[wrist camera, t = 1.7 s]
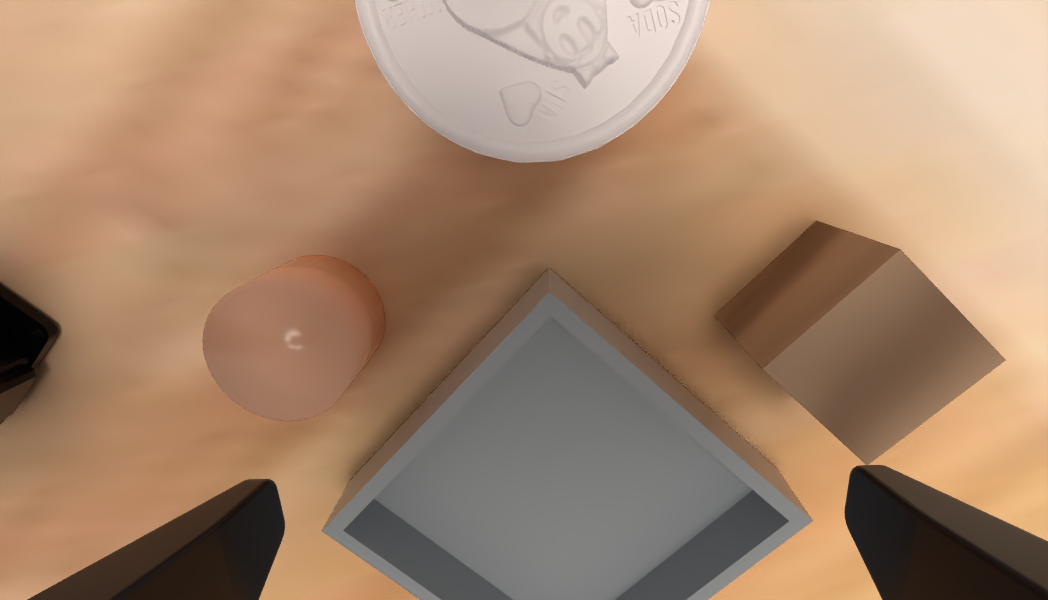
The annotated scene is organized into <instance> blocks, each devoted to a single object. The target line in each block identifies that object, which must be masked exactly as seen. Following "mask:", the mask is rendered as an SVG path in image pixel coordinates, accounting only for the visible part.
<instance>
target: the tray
mask: <svg viewBox="0 0 1048 600" xmlns="http://www.w3.org/2000/svg"><path fill="white" fill-rule="evenodd" d="M812 521H813V520H812V519H811V517H810V516H809V514H808V513H807V511H806V510H805V508H804V507H803V505H802V504H801V502H800V501H799V500H798V498H797V497H796V495H795V494H794V492H793V491H792V489H791V488H790V486H789V485H788V483H787V482H786V480H785V479H784V477H783V476H782V474H781V473H780V471H779V470H778V469H777V468H776V467H775V466H774V465H773V464H772V463H771V462H769V461H768V460H767V459H766V458H765V457H764V456H763V455H762V454H760V453H759V452H758V451H757V450H756V449H755V448H754V447H752V446H751V445H750V444H749V443H748V442H747V441H746V440H745V439H743V438H742V437H741V436H740V435H739V434H738V433H737V432H735V431H734V430H733V429H732V428H731V427H730V426H729V425H727V424H726V423H725V422H724V421H723V420H722V419H721V418H720V417H718V416H717V415H716V414H715V413H714V412H713V411H712V410H710V409H709V408H708V407H707V406H706V405H705V404H704V403H702V402H701V401H700V400H699V399H698V398H697V397H696V396H695V395H693V394H692V393H691V392H690V391H689V390H688V389H687V388H685V387H684V386H683V385H682V384H681V383H680V382H679V381H678V380H676V379H675V378H674V377H673V376H672V375H671V374H670V373H668V372H667V371H666V370H665V369H664V368H663V367H662V366H660V365H659V364H658V363H657V362H656V361H655V360H654V359H653V358H651V357H650V356H649V355H648V354H647V353H646V352H645V351H643V350H642V349H641V348H640V347H639V346H638V345H637V344H635V343H634V342H633V341H632V340H631V339H630V338H629V337H628V336H626V335H625V334H624V333H623V332H622V331H621V330H620V329H618V328H617V327H616V326H615V325H614V324H613V323H612V322H611V321H609V320H608V319H607V318H606V317H605V316H604V315H603V314H601V313H600V312H599V311H598V310H597V309H596V308H595V307H593V306H592V305H591V304H590V303H589V302H588V301H587V300H586V299H584V298H583V297H582V296H581V295H580V294H579V293H578V292H576V291H575V290H574V289H573V288H572V287H571V286H570V285H568V284H567V283H566V282H565V281H564V280H563V279H562V278H561V277H559V276H558V275H557V274H556V273H555V272H554V271H553V270H551V269H550V268H548V269H547V271H546V272H545V273H544V274H543V275H542V276H541V277H540V278H539V279H538V280H537V281H536V282H535V283H534V284H533V286H532V287H531V288H530V289H529V290H528V291H527V292H526V293H525V294H524V295H523V296H522V297H521V298H520V299H519V300H518V302H517V303H516V304H515V305H514V306H513V307H512V308H511V309H510V310H509V311H508V312H507V313H506V314H505V315H504V316H503V318H502V319H501V320H500V321H499V322H498V323H497V324H496V325H495V326H494V327H493V328H492V329H491V330H490V331H489V332H488V334H487V335H486V336H485V337H484V338H483V339H482V340H481V341H480V342H479V343H478V344H477V345H476V346H475V347H474V348H473V350H472V351H471V352H470V353H469V354H468V355H467V356H466V357H465V358H464V359H463V360H462V361H461V362H460V363H459V364H458V366H457V367H456V368H455V369H454V370H453V371H452V372H451V373H450V374H449V375H448V376H447V377H446V378H445V379H444V380H443V382H442V383H441V384H440V385H439V386H438V387H437V388H436V389H435V390H434V391H433V392H432V393H431V394H430V395H429V396H428V398H427V399H426V400H425V401H424V402H423V403H422V404H421V405H420V406H419V407H418V408H417V409H416V410H415V411H414V412H413V414H412V415H411V416H410V417H409V418H408V419H407V420H406V421H405V422H404V423H403V424H402V425H401V426H400V427H399V428H398V430H397V431H396V432H395V433H394V434H393V435H392V436H391V437H390V438H389V439H388V440H387V441H386V442H385V443H384V445H383V446H382V447H381V448H380V449H379V450H378V451H377V452H376V453H375V454H374V455H373V456H372V457H371V458H370V459H369V461H368V462H367V463H366V464H365V465H364V466H363V467H362V468H361V469H360V470H359V471H358V472H357V473H356V474H355V475H354V477H353V478H352V479H351V480H350V481H349V483H348V485H347V487H346V489H345V490H344V492H343V494H342V496H341V497H340V499H339V501H338V503H337V505H336V506H335V508H334V510H333V512H332V514H331V515H330V517H329V519H328V521H327V523H326V524H325V526H324V528H323V530H322V531H323V532H324V533H325V534H327V535H328V536H330V537H331V538H333V539H334V540H335V541H337V542H338V543H340V544H341V545H343V546H344V547H346V548H347V549H348V550H350V551H351V552H353V553H354V554H356V555H357V556H358V557H360V558H361V559H363V560H364V561H366V562H367V563H368V564H370V565H371V566H373V567H374V568H376V569H377V570H379V571H380V572H381V573H383V574H384V575H386V576H387V577H389V578H390V579H391V580H393V581H394V582H396V583H397V584H399V585H400V586H402V587H403V588H404V589H406V590H407V591H409V592H410V593H412V594H413V595H414V596H416V597H417V598H419V599H420V600H708V599H709V598H711V597H712V596H713V595H715V594H716V593H717V592H719V591H720V590H721V589H723V588H724V587H725V586H727V585H728V584H729V583H731V582H732V581H733V580H735V579H736V578H737V577H739V576H740V575H741V574H743V573H744V572H745V571H747V570H748V569H749V568H751V567H752V566H753V565H755V564H756V563H757V562H759V561H760V560H761V559H763V558H764V557H765V556H767V555H768V554H769V553H771V552H772V551H773V550H775V549H776V548H777V547H779V546H780V545H781V544H783V543H784V542H785V541H787V540H788V539H789V538H791V537H792V536H793V535H795V534H796V533H797V532H799V531H800V530H801V529H803V528H804V527H805V526H807V525H808V524H809V523H811V522H812Z"/></svg>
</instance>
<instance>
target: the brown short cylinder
mask: <svg viewBox="0 0 1048 600" xmlns="http://www.w3.org/2000/svg"><path fill="white" fill-rule="evenodd" d="M384 329H385V313H384V308H383V304H382V301H381V299H380V296H379V294H378V292H377V290H376V289H375V287H374V286H373V284H372V283H371V282H370V281H369V280H368V278H367V277H366V276H365V275H364V274H362V273H361V272H360V271H359V270H358V269H356V268H355V267H353V266H352V265H350V264H348V263H346V262H344V261H342V260H339V259H336V258H333V257H329V256H322V255H310V256H303V257H300V258H296V259H294V260H291V261H289V262H287V263H285V264H283V265H281V266H280V267H278V268H276V269H274V270H272V271H270V272H268V273H266V274H264V275H262V276H260V277H258V278H256V279H255V280H253V281H251V282H249V283H247V284H245V285H243V286H241V287H239V288H237V289H235V290H233V291H232V292H230V293H228V294H227V295H225V296H224V297H223V298H222V299H221V300H219V302H218V303H217V304H216V305H215V306H214V307H213V309H212V311H211V312H210V314H209V316H208V318H207V321H206V323H205V327H204V332H203V350H204V356H205V360H206V363H207V366H208V368H209V370H210V372H211V374H212V376H213V378H214V379H215V381H216V382H217V384H218V385H219V386H220V388H221V389H222V390H223V391H224V392H225V393H226V394H227V395H228V396H229V397H230V398H231V399H232V400H233V401H235V402H236V403H237V404H238V405H240V406H242V407H243V408H245V409H246V410H248V411H250V412H252V413H254V414H257V415H259V416H262V417H265V418H269V419H273V420H280V421H296V420H303V419H308V418H311V417H314V416H316V415H319V414H320V413H322V412H324V411H326V410H327V409H328V408H330V407H331V406H332V405H333V404H334V403H335V402H336V401H337V400H338V399H339V398H340V396H341V395H342V394H343V393H344V391H345V390H346V389H347V387H348V386H349V385H350V383H351V382H352V381H353V380H354V378H355V377H356V376H357V374H358V373H359V372H360V370H361V369H362V368H363V367H364V365H365V364H366V363H367V361H368V360H369V359H370V357H371V356H372V355H373V353H374V352H375V351H376V349H377V348H378V346H379V344H380V342H381V340H382V337H383V334H384Z"/></svg>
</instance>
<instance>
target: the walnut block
mask: <svg viewBox="0 0 1048 600" xmlns="http://www.w3.org/2000/svg"><path fill="white" fill-rule="evenodd" d="M714 316H715V317H716V318H717V319H718V320H719V321H720V322H721V323H722V325H723V326H724V327H725V328H726V329H727V330H728V331H729V332H730V333H731V335H732V336H733V337H734V338H735V339H736V340H737V341H738V342H739V343H740V345H741V346H742V347H743V348H744V349H745V350H746V351H747V352H748V354H749V355H750V356H751V357H752V358H753V359H754V360H755V361H756V362H757V364H758V365H759V366H760V367H761V368H762V369H763V370H764V371H765V372H766V373H767V374H768V375H769V376H770V377H772V378H773V379H774V380H775V381H776V382H777V383H778V384H779V385H780V386H781V387H782V388H783V389H785V390H786V391H787V392H788V393H789V394H790V395H791V396H792V397H793V398H794V399H795V400H797V401H798V402H799V403H800V404H801V405H802V406H803V407H804V408H805V409H806V410H807V411H808V412H810V413H811V414H812V415H813V416H814V417H815V418H816V419H817V420H818V421H819V422H820V423H821V424H823V425H824V426H825V427H826V428H827V429H828V430H829V431H830V432H831V433H832V434H833V435H834V436H836V437H837V438H838V439H839V440H840V441H841V442H842V443H843V444H844V445H845V446H846V447H848V448H849V449H850V450H851V451H852V452H853V453H854V454H855V455H856V456H857V457H858V458H859V459H861V460H862V461H863V462H864V463H865V464H866V465H868V464H870V463H871V462H872V461H874V460H875V459H876V458H878V457H879V456H880V455H882V454H883V453H884V452H885V451H887V450H888V449H889V448H891V447H892V446H893V445H895V444H896V443H897V442H899V441H900V440H901V439H903V438H904V437H905V436H907V435H908V434H909V433H910V432H912V431H913V430H914V429H916V428H917V427H918V426H920V425H921V424H922V423H924V422H925V421H926V420H928V419H929V418H930V417H932V416H933V415H934V414H936V413H937V412H938V411H939V410H941V409H942V408H943V407H945V406H946V405H947V404H949V403H950V402H951V401H953V400H954V399H955V398H957V397H958V396H959V395H961V394H962V393H963V392H964V391H966V390H967V389H968V388H970V387H971V386H972V385H974V384H975V383H976V382H978V381H979V380H980V379H982V378H983V377H984V376H986V375H987V374H988V373H989V372H991V371H992V370H993V369H995V368H996V367H997V366H999V365H1000V364H1001V363H1003V362H1004V361H1005V359H1004V358H1003V356H1002V355H1001V354H1000V353H999V352H998V351H997V350H996V349H995V348H994V347H993V346H992V345H991V344H990V343H989V342H988V341H987V340H986V339H985V338H984V337H983V336H982V334H981V333H980V332H979V331H978V330H977V329H976V328H975V327H974V326H973V325H972V324H971V323H970V322H969V321H968V320H967V319H966V318H965V317H964V316H963V315H962V313H961V312H960V311H959V310H958V309H957V308H956V307H955V306H954V305H953V304H952V303H951V302H950V301H949V300H948V299H947V298H946V297H945V296H944V295H943V294H942V292H941V291H940V290H939V289H938V288H937V287H936V286H935V285H934V284H933V283H932V282H931V281H930V280H929V279H928V278H927V277H926V276H925V275H924V274H923V273H922V272H921V270H920V269H919V268H918V267H917V266H916V265H915V264H914V263H913V262H912V261H911V260H910V259H909V258H908V257H907V256H906V255H905V254H904V253H903V252H902V251H901V249H898V248H895V247H892V246H889V245H886V244H883V243H880V242H877V241H874V240H871V239H868V238H866V237H863V236H860V235H857V234H854V233H851V232H848V231H845V230H842V229H839V228H836V227H833V226H831V225H828V224H825V223H822V222H819V221H816V222H815V223H814V224H812V225H811V226H810V227H809V228H808V229H807V230H806V231H805V232H804V233H803V234H802V235H801V236H800V237H798V238H797V239H796V240H795V241H794V242H793V243H792V244H791V245H790V246H789V247H788V248H787V249H785V250H784V251H783V252H782V253H781V254H780V255H779V256H778V257H777V258H776V259H775V260H774V261H773V262H771V263H770V264H769V265H768V266H767V267H766V268H765V269H764V270H763V271H762V272H761V273H760V274H759V275H757V276H756V277H755V278H754V279H753V280H752V281H751V282H750V283H749V284H748V285H747V286H746V287H744V288H743V289H742V290H741V291H740V292H739V293H738V294H737V295H736V296H735V297H734V298H733V299H732V300H730V301H729V302H728V303H727V304H726V305H725V306H724V307H723V308H722V309H721V310H720V311H719V312H717V313H716V314H715V315H714Z"/></svg>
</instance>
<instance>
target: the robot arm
mask: <svg viewBox="0 0 1048 600" xmlns="http://www.w3.org/2000/svg"><path fill="white" fill-rule="evenodd" d="M39 329H40V330H41V331H42V333H43V334H42V333H41V332H40V330H39ZM56 337H57V329H56V327H55V325H54V324H53V323H52V322H51V321H49V320H48V319H47V318H45V317H44V316H42V315H41V314H39V313H38V312H37V311H35V310H34V309H32V308H31V307H30V306H28V305H27V304H25V303H24V302H22V301H21V300H20V299H18V298H17V297H15V296H14V295H12V294H11V293H10V292H8V291H7V290H5V289H4V288H3V287H1V286H0V424H1V423H2V421H3V420H4V418H6V417H8V416H10V415H11V414H13V413H14V411H15V410H16V408H17V407H18V405H19V403H20V402H21V400H22V399H23V397H24V396H25V394H26V393H27V391H28V390H29V388H30V386H31V385H32V383H33V382H34V380H35V379H36V377H37V370H36V368H37V367H38V365H39V364H40V362H41V361H42V359H43V357H44V356H45V354H46V353H47V351H48V350H49V348H50V347H51V345H52V343H53V342H54V340H55V339H56ZM845 520H846V524H847V527H848V529H849V532H850V534H851V536H852V538H853V540H854V542H855V544H856V546H857V548H858V550H859V552H860V554H861V556H862V558H863V561H864V563H865V565H866V567H867V569H868V571H869V573H870V575H871V577H872V579H873V581H874V583H875V585H876V587H877V590H878V592H879V594H880V596H881V598H882V600H1048V541H1046V540H1044V539H1042V538H1040V537H1037V536H1035V535H1033V534H1031V533H1029V532H1027V531H1024V530H1022V529H1020V528H1018V527H1016V526H1014V525H1012V524H1009V523H1007V522H1005V521H1003V520H1001V519H999V518H996V517H994V516H992V515H990V514H988V513H986V512H984V511H981V510H979V509H977V508H975V507H973V506H971V505H968V504H966V503H964V502H962V501H960V500H958V499H955V498H953V497H951V496H949V495H947V494H945V493H943V492H940V491H938V490H936V489H934V488H932V487H930V486H927V485H925V484H923V483H921V482H919V481H917V480H915V479H912V478H910V477H908V476H906V475H904V474H902V473H899V472H897V471H895V470H893V469H891V468H889V467H886V466H883V465H864V466H856V467H854V468H853V469H852V471H851V473H850V478H849V485H848V491H847V498H846V505H845ZM284 530H285V520H284V516H283V511H282V507H281V503H280V498H279V494H278V490H277V486H276V484H275V483H274V481H272V480H270V479H249V480H245V481H243V482H241V483H239V484H237V485H235V486H234V487H232V488H230V489H228V490H226V491H225V492H223V493H221V494H219V495H217V496H215V497H214V498H212V499H210V500H208V501H206V502H204V503H203V504H201V505H199V506H197V507H195V508H194V509H192V510H190V511H188V512H186V513H184V514H183V515H181V516H179V517H177V518H175V519H173V520H172V521H170V522H168V523H166V524H164V525H163V526H161V527H159V528H157V529H155V530H153V531H152V532H150V533H148V534H146V535H144V536H143V537H141V538H139V539H137V540H135V541H133V542H132V543H130V544H128V545H126V546H124V547H122V548H121V549H119V550H117V551H115V552H113V553H112V554H110V555H108V556H106V557H104V558H102V559H101V560H99V561H97V562H95V563H93V564H92V565H90V566H88V567H86V568H84V569H82V570H81V571H79V572H77V573H75V574H73V575H71V576H70V577H68V578H66V579H64V580H62V581H61V582H59V583H57V584H55V585H53V586H51V587H50V588H48V589H46V590H44V591H42V592H40V593H39V594H37V595H35V596H33V597H31V598H30V599H28V600H259V597H260V595H261V592H262V590H263V587H264V585H265V582H266V580H267V577H268V574H269V572H270V569H271V567H272V564H273V562H274V559H275V557H276V554H277V551H278V549H279V546H280V544H281V541H282V538H283V535H284Z"/></svg>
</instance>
